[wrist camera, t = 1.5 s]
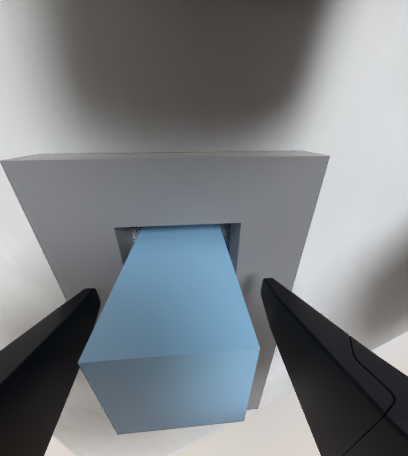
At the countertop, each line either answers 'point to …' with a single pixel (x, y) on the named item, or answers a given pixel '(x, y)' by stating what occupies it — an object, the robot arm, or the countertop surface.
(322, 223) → the countertop surface
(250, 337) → the plug
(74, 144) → the countertop surface
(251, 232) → the grey board with holes
